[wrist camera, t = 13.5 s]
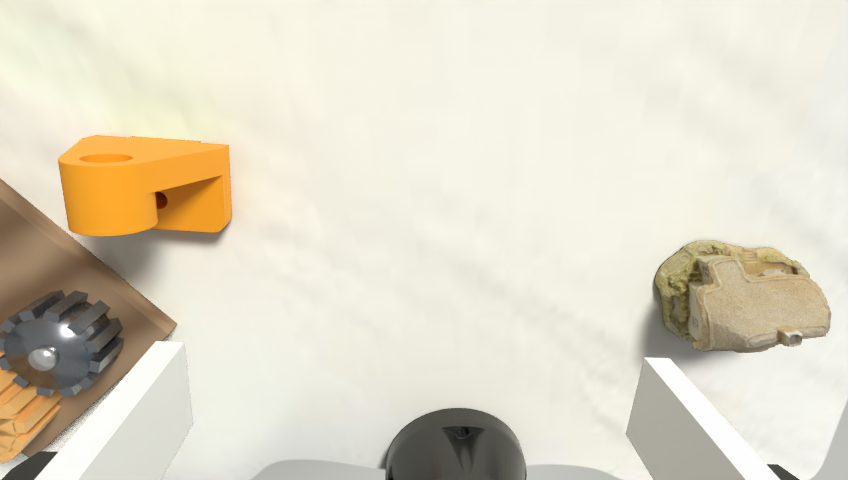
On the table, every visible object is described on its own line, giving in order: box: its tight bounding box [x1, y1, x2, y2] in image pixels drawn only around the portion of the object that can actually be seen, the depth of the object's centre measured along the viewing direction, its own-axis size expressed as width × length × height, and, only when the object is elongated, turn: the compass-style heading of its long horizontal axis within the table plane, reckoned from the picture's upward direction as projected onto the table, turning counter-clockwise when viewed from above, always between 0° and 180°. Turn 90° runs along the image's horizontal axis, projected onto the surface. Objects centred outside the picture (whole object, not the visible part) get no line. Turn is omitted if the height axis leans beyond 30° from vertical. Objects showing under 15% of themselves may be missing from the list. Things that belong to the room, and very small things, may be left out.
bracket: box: [58, 135, 232, 236], centre depth 38 cm, size 11×7×12 cm, turn 85°
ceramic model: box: [655, 240, 831, 353], centre depth 45 cm, size 14×11×10 cm
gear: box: [0, 290, 125, 397], centre depth 44 cm, size 8×8×5 cm
